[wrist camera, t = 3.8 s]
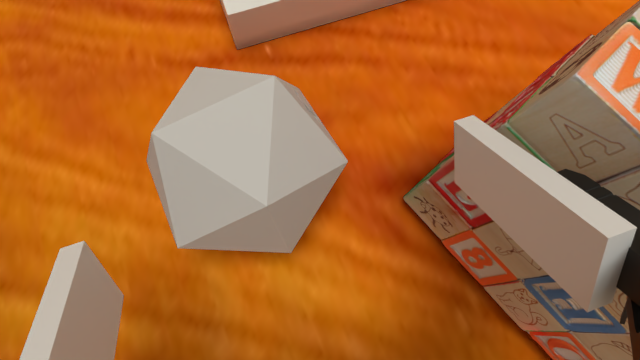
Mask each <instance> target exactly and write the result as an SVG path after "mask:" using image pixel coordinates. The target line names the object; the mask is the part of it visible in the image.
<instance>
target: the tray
mask: <svg viewBox="0 0 640 360" xmlns="http://www.w3.org/2000/svg"><path fill="white" fill-rule="evenodd" d="M403 1H406V0H220V2H221V5H222V7H223V10H224V13H225V16H226V19H227V22H228V25H229V28H230V31H231V34H232V36H233V39H234V42H235V45H236V48H237V50H238V49H242V48H245V47H249V46H252V45H255V44H259V43H262V42H266V41H269V40H273V39H276V38H279V37H283V36H286V35H290V34H293V33H297V32H300V31H303V30H307V29H310V28H314V27H317V26H321V25H324V24H327V23H331V22H334V21H338V20H341V19H345V18H348V17H351V16H355V15H358V14H362V13H365V12H369V11H372V10H375V9H379V8H382V7H386V6H389V5H393V4H396V3H399V2H403Z"/></svg>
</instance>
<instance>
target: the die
mask: <svg viewBox="0 0 640 360" xmlns="http://www.w3.org/2000/svg"><path fill="white" fill-rule="evenodd" d="M347 162H348V161H347V159H346V158H345V156H344V155H343V153H342V152H341V150H340V149H339V147H338V146H337V144H336V143H335V141H334V140H333V138H332V137H331V135H330V134H329V132H328V131H327V129H326V128H325V126H324V125H323V123H322V122H321V120H320V119H319V118H318V116H317V115H316V113H315V112H314V110H313V109H312V107H311V106H310V104H309V103H308V101H307V100H306V98H305V97H304V95H303V94H302V92H301V91H300V89H299V88H297V87H295V86H293V85H291V84H289V83H287V82H286V81H284V80H282V79H280V78H278V77H276V76H272V75H263V74H255V73H246V72H238V71H229V70H220V69H212V68H203V67H195V69H194V70H193V72H192V73H191V75H190V76H189V78H188V79H187V81H186V82H185V84H184V85H183V87H182V88H181V90H180V91H179V93H178V94H177V96H176V97H175V99H174V100H173V102H172V103H171V105H170V106H169V107H168V109H167V110H166V112H165V113H164V115H163V116H162V118H161V119H160V121H159V122H158V124H157V125H156V127H155V128H154V130H153V131H152V133H151V139H150V144H149V150H148V155H147V163H148V166H149V169H150V172H151V174H152V177H153V180H154V183H155V186H156V188H157V191H158V194H159V197H160V200H161V203H162V205H163V208H164V211H165V214H166V217H167V219H168V222H169V225H170V228H171V231H172V234H173V236H174V239H175V242H176V245H177V248H186V249H210V250H233V251H256V252H280V253H291V252H292V251H293V249H294V247H295V246H296V244H297V243H298V241H299V239H300V238H301V236H302V235H303V233H304V231H305V230H306V228H307V226H308V225H309V223H310V222H311V220H312V218H313V217H314V215H315V214H316V212H317V210H318V209H319V207H320V206H321V204H322V202H323V201H324V199H325V198H326V196H327V194H328V193H329V191H330V190H331V188H332V186H333V185H334V183H335V182H336V180H337V178H338V177H339V175H340V174H341V172H342V170H343V169H344V167H345V166H346V164H347Z"/></svg>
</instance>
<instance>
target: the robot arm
mask: <svg viewBox="0 0 640 360" xmlns="http://www.w3.org/2000/svg"><path fill="white" fill-rule="evenodd" d="M454 175H455V183H456V184H457V185H458V186H459V187H460V188H461V189H462V190H463V191H464V192H465V193H466V194H467V195H468V196H469V197H470V198H471V199H472V200H473V201H474V202H475V203H476V204H477V205H478V206H479V207H480V208H481V209H482V210H483V211H484V212H485V213H486V214H487V215H488V216H489V217H490V218H491V219H492V220H493V221H494V222H495V223H496V224H497V225H498V226H499V227H501V228H502V229H503V230H504V231H505V232H506V233H507V234H508V235H509V236H510V237H511V238H512V239H513V240H514V241H515V242H516V243H517V244H518V245H519V246H520V247H521V248H522V249H523V250H524V251H525V252H526V253H527V254H528V255H529V256H530V257H531V258H532V259H533V260H534V261H535V262H536V263H537V264H538V265H539V266H540V267H541V268H542V269H543V270H544V271H545V272H546V273H547V274H548V275H549V276H550V277H551V278H553V279H554V280H555V281H556V282H557V283H558V284H559V285H560V286H561V287H562V288H563V289H564V290H565V291H566V292H567V293H568V294H569V295H570V296H571V297H572V298H573V299H574V300H575V301H576V302H577V303H578V304H579V305H580V306H581V307H582V308H583V309H584V310H585V311H586V312H590V311H592V310H595V309H597V308H600V307H602V306H605V305H607V304H610V303H612V301H613V298H614V295H615V292H616V289H617V288H618V289H619V290H621V291H622V292H623V293H624V294H625V295H626V296H628V298H627V301H626V304H625V307H624V309H623V312H622V315H621V318H620V324H624V325H625V322H626V319H627V317H628V325H629V332H630V340H631V347H632V355H633V360H640V210H639V209H637V208H636V207H634V206H632V205H631V204H629V203H628V202H626V201H625V200H623V199H622V198H620V197H618V196H617V195H613V193H612V192H611V191H609V190H608V189H606V188H604V187H601V186H600V184H598V183H597V182H595V181H594V180H592V179H591V178H589V177H587V176H586V175H584V174H581V173H578V172H575V171H572V170H569V169H564V170H561V171H558V172H556V171H554V170H553V169H551V168H550V167H548V166H547V165H545V164H544V163H542V162H541V161H540V160H538V159H537V158H535V157H534V156H532V155H531V154H529V153H528V152H526V151H525V150H524V149H522V148H521V147H519V146H518V145H516V144H515V143H513V142H512V141H510V140H509V139H507V138H506V137H505V136H503V135H502V134H500V133H499V132H497V131H496V130H494V129H493V128H491V127H490V126H489V125H487V124H486V123H484V122H483V121H481V120H480V119H478V118H477V117H475V116H474V115H472V116H469V117H466V118H463V119H460V120H457V121H454ZM123 298H124V295H123V294H122V292H121V291H120V289H119V288H118V287H117V285H116V284H115V283H114V281H113V280H112V278H111V277H110V276H109V274H108V273H107V271H106V270H105V269H104V267H103V266H102V265H101V263H100V262H99V260H98V259H97V258H96V256H95V255H94V253H93V252H92V251H91V249H90V248H89V247H88V245H87V244H86V242H85V241H82V242H79V243H76V244H73V245H70V246H67V247H64V248H61V249H60V251H59V253H58V256H57V259H56V261H55V264H54V267H53V270H52V272H51V275H50V278H49V281H48V283H47V286H46V289H45V291H44V294H43V297H42V300H41V302H40V305H39V308H38V311H37V313H36V316H35V319H34V321H33V324H32V327H31V330H30V332H29V335H28V338H27V341H26V343H25V346H24V349H23V351H22V354H21V357H20V360H114V357H115V350H116V344H117V337H118V331H119V324H120V318H121V311H122V305H123Z"/></svg>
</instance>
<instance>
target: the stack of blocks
mask: <svg viewBox="0 0 640 360" xmlns="http://www.w3.org/2000/svg"><path fill="white" fill-rule="evenodd" d="M484 123H486V124H487V125H489V126H490V127H491V128H493V129H494V130H496V131H497V132H499V133H500V134H502V135H503V136H505V137H506V138H507V139H509V140H510V141H512V142H513V143H515V144H516V145H518V146H519V147H521V148H522V149H524V150H525V151H526V152H528V153H529V154H531V155H532V156H534V157H535V158H537V159H538V160H540V161H541V162H542V163H544V164H545V165H547V166H548V167H550V168H551V169H553V170H554V171H556V172H558V171H561V170H564V169H569V170H572V171H575V172H578V173H581V174H584V175H586V176H587V177H589V178H591V179H592V180H594V181H595V182H597V183H598V184H600V186H601V187H604V188H606V189H608V190H609V191H611V192H612V193H613V195H617V196H618V197H620V198H622V199H623V200H625V201H626V202H628V203H629V204H631V205H632V206H634V207H636V208H637V209H639V210H640V1H638V2H637V3H636V4H635V5H633V6H632V7H631V8H630V9H628V10H627V11H626V12H624V13H623V14H622V15H621V16H619V17H618V18H617V19H616V20H614V21H613V22H612V23H611V24H609V25H608V26H607V27H606V28H604V29H603V30H602V31H601V32H600V33H598V34H597V35H596V36H594V35H592V34H591V35H590V36H588V37H587V38H586V39H584V40H583V41H582V42H581V43H579V44H578V45H576V46H575V47H574V48H573V49H572V50H571V51H569V52H568V53H567V54H565V55H564V56H563V57H562V58H561V59H560V60H559V61H557V62H556V63H554V64H553V65H552V66H551V67H550V68H548V69H547V70H546V71H545V72H543V73H542V74H541V75H540V76H539V77H538V78H537V79H536V80H535V81H534V82H533V83H532V84H530V85H529V86H528V87H527V88H525V89H524V90H523V91H522V92H521V93H519V94H518V95H517V96H516V97H514V98H513V99H512V100H511V101H510V102H508V103H507V104H506V105H505V106H504V107H502V108H501V109H500V110H499V111H497V112H496V113H495V114H493V115H492V116H491V117H489V118H488V119H487V120H486V121H484ZM403 198H404V201H405V202H406V203H407V204H408V205H409V206H410V207H411V208H412V209H413V210H414V211H415V212H416V213H417V215H418V216H419V217H420V218H421V219H422V220H423V221H424V222H425V223H426V224H427V225H428V226H429V228H430V229H431V230H432V231H433V232H434V233H435V234H436V235H437V236H438V237H439V238H440V239H441V240H442V243H443V245H444V246H445V247H446V248H447V249H448V250H449V251H450V252H451V254H452V255H453V256H454V257H455V258H456V259H457V260H458V261H459V262H460V263H461V264H462V265H463V266H464V267H465V269H466V270H467V271H468V272H469V273H470V274H471V275H472V276H473V277H474V278H475V279H476V280H477V281H478V282H479V284H481V285H482V286H483V287H484V289H485V290H486V291H487V292H488V293H489V295H490V296H491V297H492V298H493V299H494V300H495V301H496V302H497V303H498V304H499V305H500V307H501V308H502V309H503V310H504V311H505V312H506V313H507V314H508V315H509V316H510V317H511V318H512V319H513V321H514V322H515V323H516V324H517V325H518V326H519V327H520V328H521V329H522V330H524V331H527V332H528V333H529V334H530V336H531V337H532V339H534V340H535V341H536V342H537V343H538V344H539V345H540V346H541V347H542V348H543V349H544V350H545V352H546V353H547V354H548V355H549V356H550V357H551V358H552V359H553V360H633V355H632V347H631V340H630V332H629V325H628V317H627V319H626V322H625V325H624V324H620V318H621V315H622V312H623V309H624V307H625V304H626V301H627V298H628V296H626V295H625V294H624V293H623V292H622V291H621V290H619V289H618V288H617V289H616V292H615V295H614V298H613V301H612V303H610V304H607V305H605V306H602V307H600V308H597V309H595V310H592V311H590V312H586V311H585V310H584V309H583V308H582V307H581V306H580V305H579V304H578V303H577V302H576V301H575V300H574V299H573V298H572V297H571V296H570V295H569V294H568V293H567V292H566V291H565V290H564V289H563V288H562V287H561V286H560V285H559V284H558V283H557V282H556V281H555V280H554V279H553V278H551V277H550V276H549V275H548V274H547V273H546V272H545V271H544V270H543V269H542V268H541V267H540V266H539V265H538V264H537V263H536V262H535V261H534V260H533V259H532V258H531V257H530V256H529V255H528V254H527V253H526V252H525V251H524V250H523V249H522V248H521V247H520V246H519V245H518V244H517V243H516V242H515V241H514V240H513V239H512V238H511V237H510V236H509V235H508V234H507V233H506V232H505V231H504V230H503V229H502V228H501V227H499V226H498V225H497V224H496V223H495V222H494V221H493V220H492V219H491V218H490V217H489V216H488V215H487V214H486V213H485V212H484V211H483V210H482V209H481V208H480V207H479V206H478V205H477V204H476V203H475V202H474V201H473V200H472V199H471V198H470V197H469V196H468V195H467V194H466V193H465V192H464V191H463V190H462V189H461V188H460V187H459V186H458V185H457V184H456V183H455V175H454V148H453V149H452V150H451V151H450V152H449V153H448V154H447V155H446V156H445V157H444V158H443V159H442V160H441V161H440V162H439V163H438V165H437V166H436V167H435V168H434V169H433V170H432V171H431V172H429V173H428V174H427V175H426V176H425V177H424V178H423V179H422V180H421V181H420V182H419V183H418V184H417V185H416V186H415V187H413V188H412V189H411V190H410V191H409V192H408V193H407V194H406V195H405V196H404V197H403Z"/></svg>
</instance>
